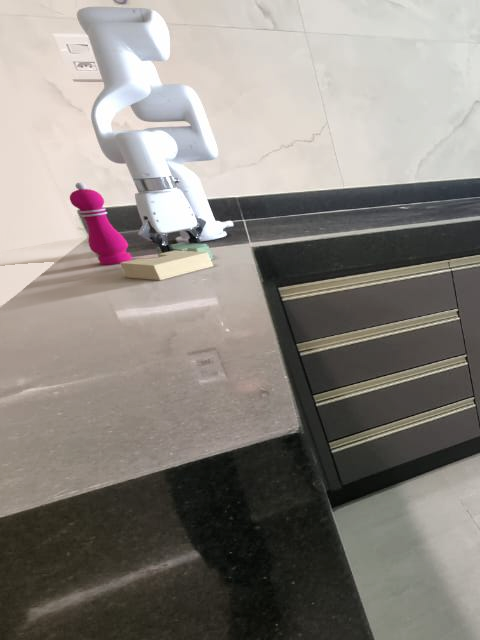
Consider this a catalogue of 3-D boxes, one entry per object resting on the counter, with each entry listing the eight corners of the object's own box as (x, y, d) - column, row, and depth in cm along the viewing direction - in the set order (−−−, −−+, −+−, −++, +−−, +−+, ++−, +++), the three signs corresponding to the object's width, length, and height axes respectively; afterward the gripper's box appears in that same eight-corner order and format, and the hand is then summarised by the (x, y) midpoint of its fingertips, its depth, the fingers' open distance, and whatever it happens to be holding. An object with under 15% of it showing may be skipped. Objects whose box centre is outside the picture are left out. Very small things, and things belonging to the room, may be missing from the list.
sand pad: (180, 263, 134) (175, 250, 133) (213, 266, 130) (207, 252, 129) (126, 277, 124) (119, 262, 122) (160, 280, 120) (153, 265, 119)
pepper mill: (112, 265, 135) (73, 184, 127) (91, 265, 137) (50, 185, 128) (141, 258, 142) (106, 180, 133) (120, 258, 143) (84, 181, 134)
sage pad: (186, 255, 143) (180, 242, 141) (219, 257, 139) (214, 244, 137) (161, 261, 138) (156, 247, 136) (195, 263, 134) (190, 249, 132)
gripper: (182, 180, 139) (209, 248, 147) (105, 190, 125) (139, 264, 132) (202, 180, 137) (228, 249, 145) (125, 190, 122) (159, 266, 130)
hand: (185, 256), depth 138 cm, fingers closed on sage pad, 6 cm apart
